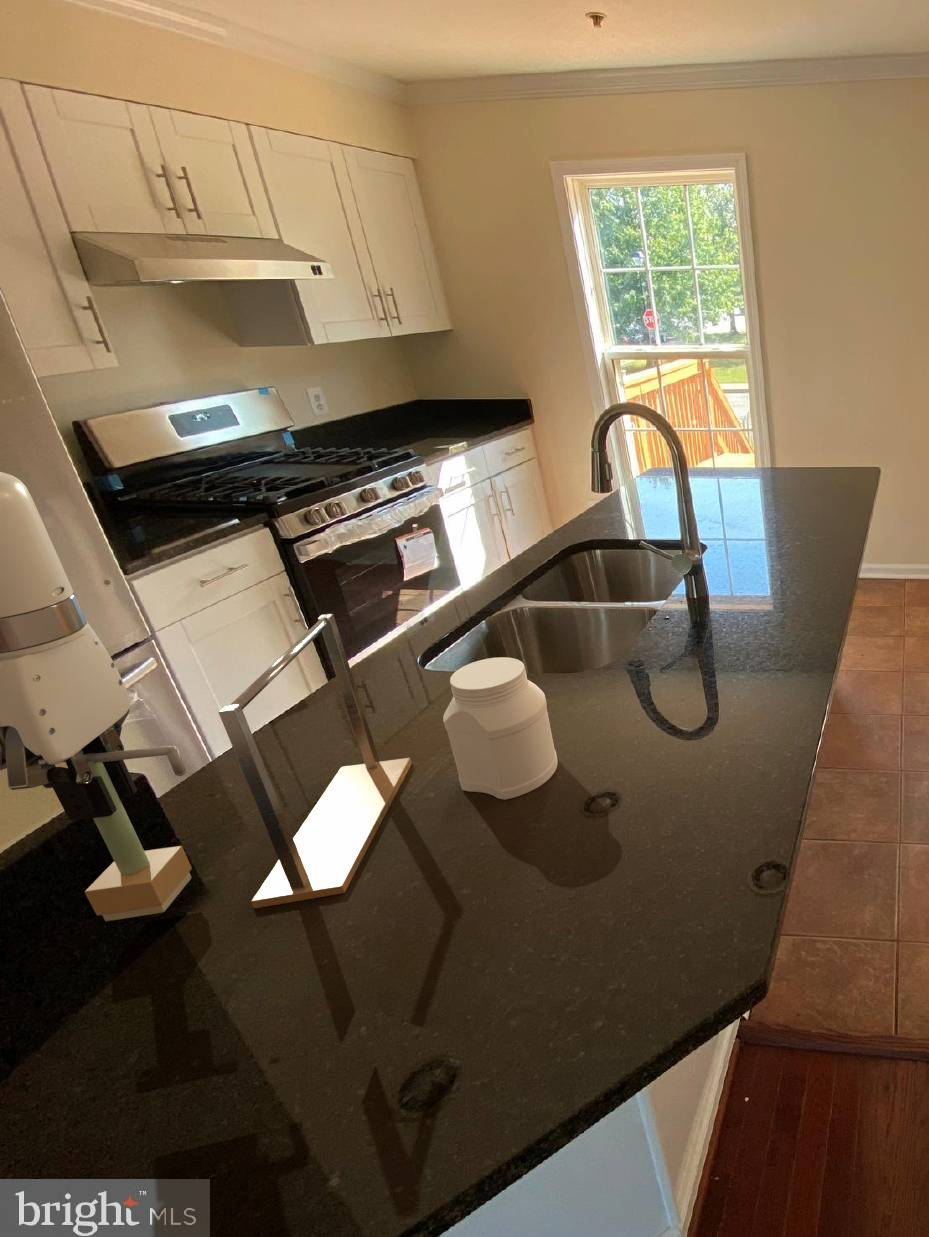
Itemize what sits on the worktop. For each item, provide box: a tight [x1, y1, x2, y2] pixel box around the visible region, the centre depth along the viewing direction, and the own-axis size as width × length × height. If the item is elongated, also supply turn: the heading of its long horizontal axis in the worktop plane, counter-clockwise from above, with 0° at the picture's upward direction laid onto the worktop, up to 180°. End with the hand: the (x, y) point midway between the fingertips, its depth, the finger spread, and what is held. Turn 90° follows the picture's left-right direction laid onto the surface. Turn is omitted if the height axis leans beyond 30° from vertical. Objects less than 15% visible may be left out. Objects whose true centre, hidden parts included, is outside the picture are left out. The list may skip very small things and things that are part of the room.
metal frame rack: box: [218, 613, 412, 909], centre depth 77 cm, size 8×23×22 cm, turn 15°
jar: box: [442, 656, 559, 801], centre depth 88 cm, size 12×10×15 cm
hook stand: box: [84, 745, 193, 922], centre depth 65 cm, size 9×5×17 cm, turn 106°
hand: (104, 805), depth 64 cm, fingers closed on hook stand
